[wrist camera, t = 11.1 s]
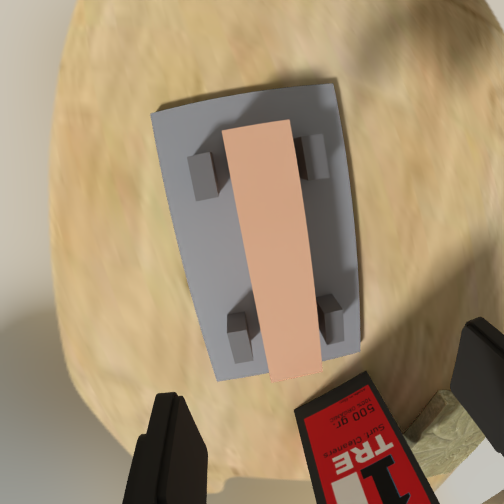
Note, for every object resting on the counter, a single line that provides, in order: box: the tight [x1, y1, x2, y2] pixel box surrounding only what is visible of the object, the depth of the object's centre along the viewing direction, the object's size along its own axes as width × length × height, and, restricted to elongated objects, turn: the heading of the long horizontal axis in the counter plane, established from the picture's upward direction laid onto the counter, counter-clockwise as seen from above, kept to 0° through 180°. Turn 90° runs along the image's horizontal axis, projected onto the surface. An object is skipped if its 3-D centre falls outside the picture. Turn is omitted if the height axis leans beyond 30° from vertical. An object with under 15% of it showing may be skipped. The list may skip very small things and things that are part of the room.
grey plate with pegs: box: [150, 83, 360, 381], centre depth 24 cm, size 24×14×4 cm, turn 10°
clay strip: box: [222, 120, 323, 383], centre depth 23 cm, size 18×4×5 cm, turn 10°
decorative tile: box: [403, 390, 485, 478], centre depth 36 cm, size 19×20×4 cm
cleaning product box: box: [294, 371, 440, 504], centre depth 24 cm, size 16×9×20 cm, turn 32°
